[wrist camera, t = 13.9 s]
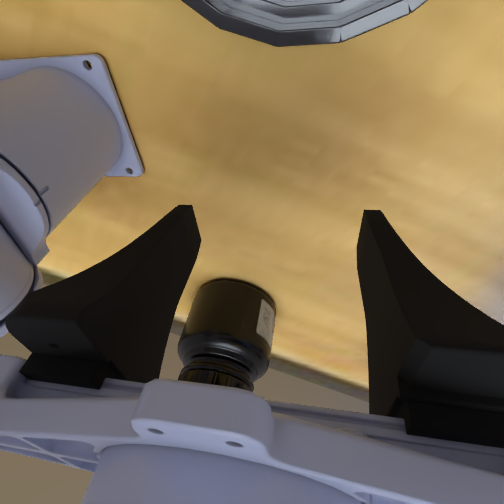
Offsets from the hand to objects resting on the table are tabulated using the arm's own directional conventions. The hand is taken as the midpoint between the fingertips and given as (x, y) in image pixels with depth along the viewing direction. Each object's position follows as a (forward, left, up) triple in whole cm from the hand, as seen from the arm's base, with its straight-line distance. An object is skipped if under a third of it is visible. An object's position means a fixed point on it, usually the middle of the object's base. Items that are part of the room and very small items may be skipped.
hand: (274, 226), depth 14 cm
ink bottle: (-6, -19, -10) cm, 22 cm away
